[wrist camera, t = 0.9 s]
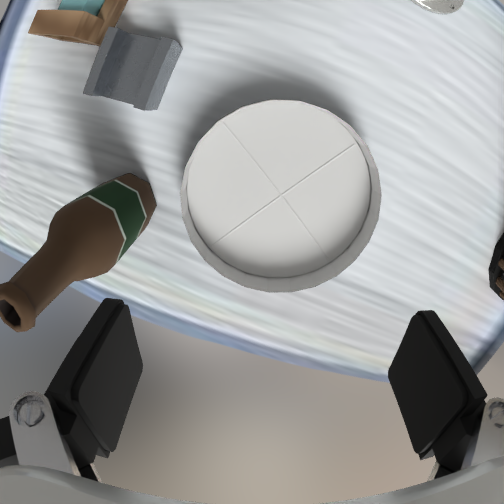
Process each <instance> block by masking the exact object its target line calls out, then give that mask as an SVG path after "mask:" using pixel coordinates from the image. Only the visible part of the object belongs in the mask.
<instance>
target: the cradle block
mask: <svg viewBox="0 0 504 504" xmlns="http://www.w3.org/2000/svg"><path fill="white" fill-rule="evenodd" d="M182 49H183V48H182V47H181V46H180V44H179V43H177V42H176V41H175V40H174V39H170V38H166V37H162V38H161V40H160V39H156V38H151V37H146V36H142V35H137V34H131V33H127V32H125V31H123V30H121V29H119V28H115V27H108V30H107V32H106V34H105V36H104V39H103V41H102V43H101V46H100V48H99V51H98V53H97V56H96V58H95V61H94V63H93V66H92V69H91V71H90V74H89V77H88V80H87V83H86V86H85V89H84V92H83V94H87V95H91V96H104V97H108V98H112V99H115V100H119V101H122V102H126V103H129V104H133V105H134V108H138V109H141V110H144V111H145V110H157V109H158V106H159V104H160V101H161V98H162V96H163V93H164V91H165V88H166V86H167V83H168V81H169V79H170V76H171V74H172V72H173V69H174V67H175V65H176V62H177V60H178V58H179V56H180V53H181V51H182Z"/></svg>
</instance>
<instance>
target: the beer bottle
mask: <svg viewBox="0 0 504 504" xmlns="http://www.w3.org/2000/svg"><path fill="white" fill-rule="evenodd" d="M156 206H157V205H156V202H155V199H154V196H153V193H152V190H151V187H150V184H149V183H148V182H146V181H144V180H142V179H140V178H138V177H136V176H135V175H133V174H131V173H128V174H125V175H123V176H120V177H117V178H115V179H112V180H110V181H107V182H105V183H103V184H101V185H99V186H97V187H96V188H94V189H92V190H90V191H89V192H87V193H85V194H83V195H82V196H80V197H78V198H76V199H75V200H73V201H71V202H70V203H68V204H67V205H65V206H64V207H62V208H61V209H60V210H59V211H57V212H56V214H55V215H54V217H53V219H52V221H51V223H50V227H49V232H48V237H47V241H46V242H45V243H44V245H43V246H42V247H41V249H40V250H39V251H38V252H37V253H36V254H35V255H34V256H33V257H32V258H31V259H30V260H29V261H28V262H27V263H26V264H25V265H24V266H23V267H22V268H21V269H20V270H19V271H18V272H17V273H16V274H15V275H14V276H13V277H12V278H11V280H10V281H9V282H6V283H3V284H0V317H1V319H2V320H3V322H4V323H6V324H7V325H8V326H9V327H11V328H12V329H13V330H15V331H16V332H23V331H27V330H29V329H31V328H32V327H34V326H35V319H36V317H37V316H38V315H39V314H40V313H41V312H42V311H43V310H44V309H45V308H46V307H47V306H48V305H49V304H50V303H51V302H52V301H53V300H54V299H55V298H56V297H57V296H58V295H59V294H60V293H61V292H62V291H63V290H64V289H65V288H66V287H67V286H68V285H69V284H71V283H72V282H74V281H80V280H84V279H88V278H92V277H96V276H99V275H102V274H104V273H107V272H108V271H109V270H110V269H111V268H112V267H113V266H114V265H115V264H116V263H117V262H118V261H119V259H120V258H121V257H122V256H123V254H124V253H125V252H126V251H127V250H128V248H129V247H130V246H131V245H132V244H133V242H134V241H135V240H136V239H137V238H138V237H139V235H140V234H141V233H142V232H143V231H144V229H145V228H146V226H147V225H148V223H149V221H150V219H151V217H152V214H153V212H154V210H155V208H156Z"/></svg>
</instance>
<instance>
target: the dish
mask: <svg viewBox="0 0 504 504" xmlns="http://www.w3.org/2000/svg"><path fill="white" fill-rule="evenodd" d="M180 196H181V208H182V218H183V221H184V224H185V226H186V229H187V232H188V234H189V237H190V240H191V242H192V243H193V245H194V246H195V247H196V249H197V250H198V252H199V253H200V255H201V256H202V257H203V259H204V260H205V261H206V262H207V263H208V264H209V265H210V266H212V267H213V268H214V269H215V270H216V271H218V272H219V273H220V274H221V275H222V276H224V277H226V278H228V279H230V280H232V281H234V282H236V283H238V284H240V285H242V286H244V287H247V288H251V289H256V290H260V291H265V292H295V291H299V290H303V289H308V288H312V287H316V286H318V285H320V284H322V283H324V282H326V281H328V280H330V279H332V278H334V277H336V276H337V275H339V274H340V273H341V272H342V271H343V270H345V269H346V268H347V267H348V266H349V265H351V264H352V263H353V262H354V261H355V260H356V259H357V257H358V256H359V255H360V253H361V252H362V251H363V249H364V248H365V247H366V245H367V244H368V243H369V241H370V238H371V236H372V234H373V231H374V229H375V226H376V224H377V222H378V218H379V211H380V203H381V187H380V180H379V173H378V169H377V166H376V164H375V162H374V159H373V157H372V155H371V153H370V150H369V148H368V146H367V145H366V144H365V142H364V141H363V140H362V139H361V137H360V136H359V135H358V134H357V133H356V131H355V130H354V129H353V128H352V127H351V126H350V125H349V124H347V123H346V122H345V121H343V120H342V119H340V118H339V117H337V116H336V115H334V114H333V113H331V112H330V111H328V110H326V109H323V108H320V107H317V106H314V105H311V104H308V103H305V102H302V101H297V100H275V99H269V100H265V101H261V102H257V103H253V104H249V105H245V106H242V107H240V108H238V109H237V110H235V111H233V112H231V113H230V114H228V115H226V116H225V117H223V118H221V119H219V120H218V121H217V123H216V124H215V125H214V126H213V127H212V128H211V129H210V130H209V131H208V132H207V133H206V134H205V135H204V136H203V137H202V138H201V140H200V141H199V142H198V143H197V145H196V147H195V149H194V151H193V153H192V155H191V157H190V159H189V161H188V163H187V165H186V167H185V171H184V176H183V181H182V186H181V191H180Z"/></svg>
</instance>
